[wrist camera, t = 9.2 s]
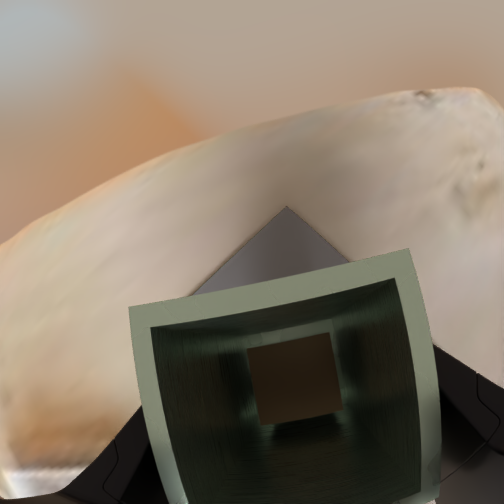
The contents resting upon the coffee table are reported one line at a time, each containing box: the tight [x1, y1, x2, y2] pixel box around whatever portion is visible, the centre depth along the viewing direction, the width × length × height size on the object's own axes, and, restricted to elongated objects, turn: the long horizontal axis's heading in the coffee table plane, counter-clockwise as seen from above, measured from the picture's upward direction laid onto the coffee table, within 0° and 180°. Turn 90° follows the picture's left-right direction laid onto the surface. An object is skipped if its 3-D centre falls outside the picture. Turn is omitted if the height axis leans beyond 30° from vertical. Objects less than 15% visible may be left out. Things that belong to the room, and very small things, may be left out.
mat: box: [192, 206, 349, 296], centre depth 19 cm, size 18×16×1 cm
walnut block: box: [247, 332, 343, 425], centre depth 13 cm, size 4×4×4 cm
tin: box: [129, 248, 442, 504], centre depth 10 cm, size 6×6×11 cm
